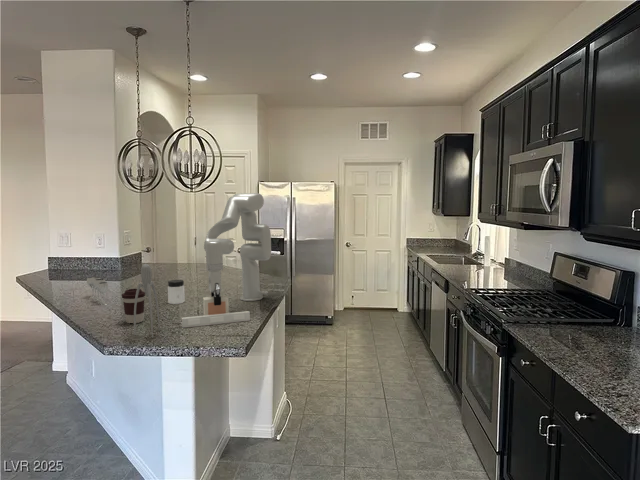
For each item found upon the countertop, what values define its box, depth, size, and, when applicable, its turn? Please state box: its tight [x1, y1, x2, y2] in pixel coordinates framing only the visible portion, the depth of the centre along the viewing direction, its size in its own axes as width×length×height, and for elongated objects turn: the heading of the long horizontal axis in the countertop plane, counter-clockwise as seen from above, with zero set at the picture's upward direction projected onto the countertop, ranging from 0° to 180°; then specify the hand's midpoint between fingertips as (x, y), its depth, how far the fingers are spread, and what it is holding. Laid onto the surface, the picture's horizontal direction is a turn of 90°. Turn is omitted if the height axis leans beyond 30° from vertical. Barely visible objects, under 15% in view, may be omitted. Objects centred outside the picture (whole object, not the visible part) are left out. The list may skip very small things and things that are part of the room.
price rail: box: [181, 310, 251, 329], centre depth 198 cm, size 30×2×4 cm, turn 111°
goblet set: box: [86, 275, 110, 306], centre depth 246 cm, size 28×6×13 cm, turn 41°
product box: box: [202, 294, 230, 316], centre depth 206 cm, size 6×11×10 cm, turn 111°
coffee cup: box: [121, 288, 146, 324], centre depth 202 cm, size 10×10×15 cm
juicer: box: [133, 263, 161, 339], centre depth 181 cm, size 10×9×30 cm
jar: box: [167, 279, 186, 305], centre depth 240 cm, size 9×8×12 cm
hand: (216, 302), depth 207 cm, fingers open, 9 cm apart
